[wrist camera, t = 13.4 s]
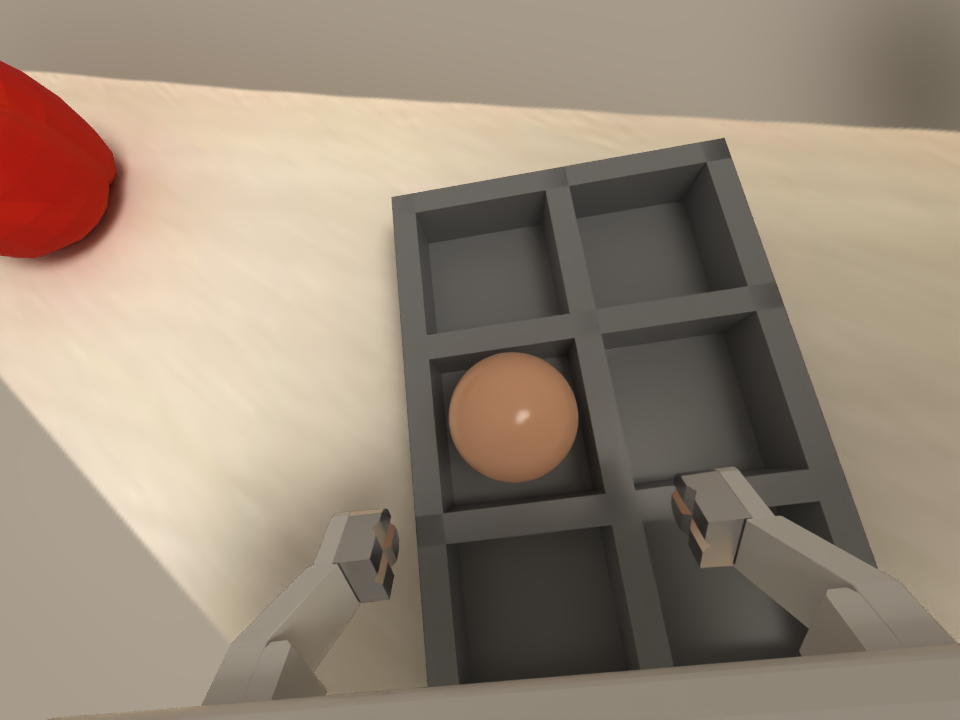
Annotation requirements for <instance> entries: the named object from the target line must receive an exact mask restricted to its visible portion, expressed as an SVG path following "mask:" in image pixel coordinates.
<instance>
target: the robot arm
mask: <svg viewBox="0 0 960 720" xmlns="http://www.w3.org/2000/svg"><path fill="white" fill-rule="evenodd" d="M673 484H674V486H675V488H676V491H675V492H674V493H673V494H672V499H671V505H672V511H673V515H674V517H675V520H676V523H677V525H678V527H679V529H680V530H681V531H683V532H684V533H686V534H687V535H688V536H689V539H688V546H689V548H690V550H691V552H692V554H693V556H694V558H695V560H696V562H697V563H698V565H699V567H700V568H707V567H721V566H734V568H736V569H737V570H738V571H739V572H740V573H742V574H743V575H744V576H745V577H747V578H748V579H749V580H750V581H751V582H753V583H754V584H755V585H756V586H757V587H759V588H760V589H761V590H762V591H764V592H765V593H766V594H767V595H768V596H770V597H771V598H772V599H773V600H774V601H776V602H777V603H778V604H779V605H781V606H782V607H783V608H784V609H785V610H787V611H788V612H789V613H790V614H792V615H793V616H794V617H795V618H796V619H798V620H799V621H800V622H801V623H802V624H804V625H805V626H806V627H807V628H809V630H808V632H807V634H806V636H805V638H804V640H803V643H802V645H801V647H800V650H799V652H800V654H801V655H802V656H801V657H789V658H777V659H765V660H752V661H740V662H728V663H716V664H704V665H691V666H679V667H667V668H655V669H642V670H630V671H618V672H606V673H593V674H581V675H569V676H557V677H545V678H533V679H520V680H508V681H496V682H484V683H472V684H460V685H448V686H436V687H424V688H411V689H399V690H387V691H375V692H363V693H351V694H339V695H327V696H325V695H326V692H327V691H326V689H325V687H324V685H323V684H322V682H321V681H320V680H319V679H318V677H317V676H316V675H315V674H314V673H313V672H314V670H315V669H316V668H317V666H318V665H319V663H320V662H321V660H322V659H323V658H324V656H325V655H326V653H327V652H328V650H329V649H330V647H331V646H332V645H333V643H334V642H335V640H336V639H337V637H338V636H339V635H340V633H341V632H342V630H343V629H344V627H345V626H346V624H347V623H348V622H349V620H350V619H351V617H352V616H353V614H354V613H355V612H356V610H357V609H358V607H359V606H360V604H359V603H364V602H371V601H379V600H387V599H390V594H391V589H392V584H393V578H394V574H393V572H392V570H391V567H392V566H393V564H394V563H395V562H396V561H397V557H398V551H399V539H398V533H397V530H396V528H395V526H394V525H392V524H390V523H389V522H390V518H391V516H390V513H389V511H388V509H374V510H363V511H352V512H344V513H335V515H334V516H333V517H332V518H331V520H330V523H329V525H328V528H327V531H326V533H325V536H324V538H323V541H322V544H321V546H320V549H319V552H318V554H317V557H316V559H315V562H314V565H313V566H311V567H307V568H306V569H305V570H304V571H303V572H302V573H301V574H300V575H299V576H298V577H297V578H296V579H295V580H294V581H293V582H292V583H291V584H290V585H289V586H288V587H287V588H286V589H285V590H284V591H283V592H282V593H281V594H280V595H279V596H278V597H277V598H276V599H275V600H274V601H273V602H272V603H271V604H270V605H269V606H268V607H267V608H266V609H265V610H264V611H263V612H262V613H261V614H260V615H259V616H258V617H257V618H256V619H255V620H254V621H253V622H252V623H251V624H250V625H249V626H248V627H247V628H246V629H245V630H244V631H243V632H242V633H241V634H240V635H239V636H238V637H237V638H236V639H235V640H234V641H233V642H232V643H231V645H230V647H229V649H228V652H227V654H226V656H225V658H224V660H223V662H222V664H221V666H220V668H219V670H218V672H217V674H216V676H215V678H214V681H213V682H212V685H211V687H210V689H209V691H208V693H207V695H206V697H205V699H204V701H203V703H202V705H201V706H194V707H182V708H169V709H157V710H145V711H133V712H121V713H108V714H96V715H83V716H70V717H59V718H52V719H48V720H960V643H957V642H956V641H955V640H954V639H953V638H952V637H951V636H950V635H949V634H948V633H947V632H946V631H945V630H944V629H943V627H942V626H941V625H940V624H939V623H938V622H937V621H936V620H935V619H934V618H933V617H932V616H931V615H930V614H929V613H928V612H927V610H926V609H925V608H924V607H923V606H922V605H921V604H920V603H919V602H918V601H917V600H916V599H915V598H914V597H913V596H912V595H911V593H910V592H909V591H908V590H907V589H906V588H905V587H904V586H903V585H902V584H901V583H900V582H899V581H898V580H896V579H894V578H892V577H890V576H889V575H887V574H885V573H883V572H882V571H880V570H878V569H876V568H874V567H873V566H871V565H869V564H867V563H865V562H864V561H862V560H860V559H858V558H856V557H855V556H853V555H851V554H849V553H847V552H846V551H844V550H842V549H840V548H838V547H837V546H835V545H833V544H831V543H829V542H828V541H826V540H824V539H822V538H820V537H819V536H817V535H815V534H813V533H811V532H810V531H808V530H806V529H804V528H802V527H801V526H799V525H797V524H795V523H793V522H792V521H790V520H788V519H786V518H784V517H783V516H775V515H774V514H773V513H772V512H771V510H770V509H769V508H768V507H767V505H766V504H765V503H764V502H763V500H762V499H761V498H760V496H759V495H758V494H757V493H756V491H755V490H754V489H753V488H752V486H751V485H750V484H749V483H748V481H747V480H746V479H745V477H744V476H743V475H742V474H741V472H740V471H739V470H738V469H737V468H735V467H734V466H733V467H725V468H717V469H707V470H699V471H691V472H684V473H676V474H675V476H674V480H673Z"/></svg>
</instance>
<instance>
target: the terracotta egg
mask: <svg viewBox="0 0 960 720" xmlns="http://www.w3.org/2000/svg"><path fill="white" fill-rule="evenodd" d="M448 416H449V428H450V433H451V436H452V440H453V442H454V444H455V447H456V449H457V450H458V452H459V453H460V455H461V456H462V458H463V459H464V460H465V461H466V462H467V463H468V464H469V465H470V466H471V467H472V468H473V469H475V470H476V471H477V472H479V473H480V474H482V475H484V476H486V477H488V478H491V479H493V480H496V481H501V482H506V483H523V482H528V481H532V480H535V479H538V478H540V477H542V476H544V475H546V474H548V473H549V472H551V471H552V470H554V469H555V468H556V467H557V466H558V465H559V464H560V463H561V462H562V461H563V460H564V458H565V457H566V456H567V454H568V453H569V451H570V450H571V448H572V445H573V443H574V441H575V438H576V434H577V429H578V407H577V403H576V399H575V396H574V394H573V391H572V389H571V387H570V386H569V384H568V382H567V381H566V379H565V378H564V377H563V375H562V374H561V373H560V372H559V371H558V370H557V369H556V368H555V367H553V366H552V365H551V364H549V363H548V362H546V361H544V360H543V359H541V358H538V357H536V356H533V355H530V354H525V353H520V352H507V353H500V354H495V355H493V356H490V357H487V358H485V359H483V360H481V361H479V362H478V363H476V364H475V365H473V366H472V367H471V368H470V369H469V370H468V371H467V372H466V373H465V374H464V375H463V376H462V378H461V379H460V381H459V382H458V384H457V386H456V387H455V389H454V392H453V395H452V397H451V401H450V406H449V415H448Z"/></svg>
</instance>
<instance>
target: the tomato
mask: <svg viewBox="0 0 960 720" xmlns="http://www.w3.org/2000/svg"><path fill="white" fill-rule="evenodd" d="M115 175H116V168H115V163H114V158H113V154H112V152H111V150H110V149H109V148H108V146H107V145H106V144H105V143H104V141H103V140H102V139H101V137H100V136H99V135H98V134H97V133H96V131H95V130H94V129H93V128H92V127H91V126H90V125H89V124H88V123H87V122H86V121H85V120H84V119H83V118H82V117H81V116H79V115H78V114H77V113H76V112H75V111H74V110H73V109H72V108H71V107H70V106H68V105H67V104H66V103H65V102H64V101H63V100H62V99H61V98H60V97H58V96H57V95H56V94H54V93H53V92H51V91H50V90H48V89H47V88H45V87H44V86H42V85H41V84H39V83H38V82H37V81H35V80H34V79H32V78H31V77H29V76H28V75H26V74H25V73H23V72H22V71H20V70H18V69H16V68H14V67H12V66H10V65H7V64H6V63H4V62H1V61H0V255H2V256H9V257H16V258H35V257H39V256H43V255H47V254H49V253H51V252H53V251H56V250H58V249H60V248H63V247H65V246H67V245H70V244H72V243H74V242H77V241H79V240H81V239H83V238H84V237H85V236H86V235H87V234H88V233H89V232H90V231H91V230H92V229H94V228H95V227H96V226H97V224H98V223H99V221H100V219H101V218H102V216H103V214H104V212H105V211H106V209H107V203H108V195H109V185H110V184H111V182H112V181H113V179H114V177H115Z"/></svg>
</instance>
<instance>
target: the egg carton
mask: <svg viewBox="0 0 960 720" xmlns="http://www.w3.org/2000/svg"><path fill="white" fill-rule="evenodd" d="M392 210H393V224H394V237H395V250H396V264H397V277H398V291H399V304H400V318H401V331H402V345H403V358H404V372H405V385H406V399H407V412H408V426H409V439H410V453H411V466H412V480H413V493H414V507H415V520H416V534H417V547H418V561H419V574H420V588H421V601H422V615H423V628H424V642H425V655H426V669H427V682H428V687H436V686H448V685H460V684H472V683H484V682H496V681H508V680H520V679H533V678H545V677H557V676H569V675H581V674H593V673H606V672H618V671H630V670H642V669H655V668H667V667H679V666H691V665H704V664H716V663H728V662H740V661H752V660H765V659H777V658H789V657H801V656H802V655H801V654H800V652H799V650H800V647H801V645H802V643H803V640H804V638H805V636H806V634H807V632H808V630H809V628H807V627H806V626H805V625H804V624H802V623H801V622H800V621H799V620H798V619H796V618H795V617H794V616H793V615H792V614H790V613H789V612H788V611H787V610H785V609H784V608H783V607H782V606H781V605H779V604H778V603H777V602H776V601H774V600H773V599H772V598H771V597H770V596H768V595H767V594H766V593H765V592H764V591H762V590H761V589H760V588H759V587H757V586H756V585H755V584H754V583H753V582H751V581H750V580H749V579H748V578H747V577H745V576H744V575H743V574H742V573H740V572H739V571H738V570H737V569H736V568H734V566H721V567H707V568H700V567H699V565H698V563H697V562H696V560H695V558H694V556H693V554H692V552H691V550H690V548H689V546H688V539H689V536H688V535H687V534H686V533H684V532H683V531H681V530H680V529H679V527H678V525H677V523H676V520H675V517H674V515H673V511H672V505H671V499H672V494H673V493H674V492H675V491H676V488H675V486H674V484H673V480H674V476H675V474H676V473H684V472H691V471H699V470H707V469H717V468H725V467H733V466H734V467H735V468H737V469H738V470H739V471H740V472H741V474H742V475H743V476H744V477H745V479H746V480H747V481H748V483H749V484H750V485H751V486H752V488H753V489H754V490H755V491H756V493H757V494H758V495H759V496H760V498H761V499H762V500H763V502H764V503H765V504H766V505H767V507H768V508H769V509H770V510H771V512H772V513H773V514H774V515H775V516H783V517H784V518H786V519H788V520H790V521H792V522H793V523H795V524H797V525H799V526H801V527H802V528H804V529H806V530H808V531H810V532H811V533H813V534H815V535H817V536H819V537H820V538H822V539H824V540H826V541H828V542H829V543H831V544H833V545H835V546H837V547H838V548H840V549H842V550H844V551H846V552H847V553H849V554H851V555H853V556H855V557H856V558H858V559H860V560H862V561H864V562H865V563H867V564H869V565H871V566H873V567H874V568H876V569H878V568H877V565H876V562H875V560H874V557H873V554H872V551H871V548H870V546H869V543H868V540H867V537H866V534H865V532H864V529H863V526H862V523H861V520H860V517H859V515H858V512H857V509H856V506H855V503H854V501H853V498H852V495H851V492H850V489H849V487H848V484H847V481H846V478H845V475H844V472H843V470H842V467H841V464H840V461H839V458H838V456H837V453H836V450H835V447H834V444H833V442H832V439H831V436H830V433H829V430H828V428H827V425H826V422H825V419H824V416H823V413H822V411H821V408H820V405H819V402H818V399H817V397H816V394H815V391H814V388H813V385H812V383H811V380H810V377H809V374H808V371H807V369H806V366H805V363H804V360H803V357H802V354H801V352H800V349H799V346H798V343H797V340H796V338H795V335H794V332H793V329H792V326H791V324H790V321H789V318H788V315H787V312H786V310H785V307H784V304H783V301H782V298H781V295H780V293H779V290H778V287H777V284H776V281H775V279H774V276H773V273H772V270H771V267H770V265H769V262H768V259H767V256H766V253H765V251H764V248H763V245H762V242H761V239H760V236H759V234H758V231H757V228H756V225H755V222H754V220H753V217H752V214H751V211H750V208H749V206H748V203H747V200H746V197H745V194H744V192H743V189H742V186H741V183H740V180H739V177H738V175H737V172H736V169H735V166H734V163H733V161H732V158H731V155H730V152H729V149H728V147H727V144H726V141H725V138H722V139H716V140H711V141H705V142H699V143H694V144H688V145H683V146H677V147H671V148H666V149H660V150H654V151H649V152H643V153H638V154H632V155H626V156H621V157H615V158H609V159H604V160H598V161H593V162H587V163H581V164H576V165H570V166H565V167H559V168H553V169H548V170H542V171H536V172H531V173H525V174H520V175H514V176H508V177H503V178H497V179H491V180H486V181H480V182H475V183H469V184H463V185H458V186H452V187H446V188H441V189H435V190H430V191H424V192H418V193H413V194H407V195H402V196H396V197H392ZM507 352H520V353H525V354H530V355H533V356H536V357H538V358H541V359H543V360H544V361H546V362H548V363H549V364H551V365H552V366H553V367H555V368H556V369H557V370H558V371H559V372H560V373H561V374H562V375H563V377H564V378H565V379H566V381H567V382H568V384H569V386H570V387H571V389H572V391H573V394H574V396H575V399H576V403H577V407H578V429H577V434H576V438H575V441H574V443H573V445H572V448H571V450H570V451H569V453H568V454H567V456H566V457H565V458H564V460H563V461H562V462H561V463H560V464H559V465H558V466H557V467H556V468H555V469H554V470H552V471H551V472H549V473H548V474H546V475H544V476H542V477H540V478H538V479H535V480H532V481H528V482H523V483H506V482H501V481H496V480H493V479H491V478H488V477H486V476H484V475H482V474H480V473H479V472H477V471H476V470H475V469H473V468H472V467H471V466H470V465H469V464H468V463H467V462H466V461H465V460H464V459H463V458H462V456H461V455H460V453H459V452H458V450H457V449H456V447H455V444H454V442H453V440H452V436H451V433H450V428H449V416H448V415H449V406H450V401H451V397H452V395H453V392H454V389H455V387H456V386H457V384H458V382H459V381H460V379H461V378H462V376H463V375H464V374H465V373H466V372H467V371H468V370H469V369H470V368H471V367H472V366H473V365H475V364H476V363H478V362H479V361H481V360H483V359H485V358H487V357H490V356H493V355H495V354H500V353H507Z"/></svg>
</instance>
